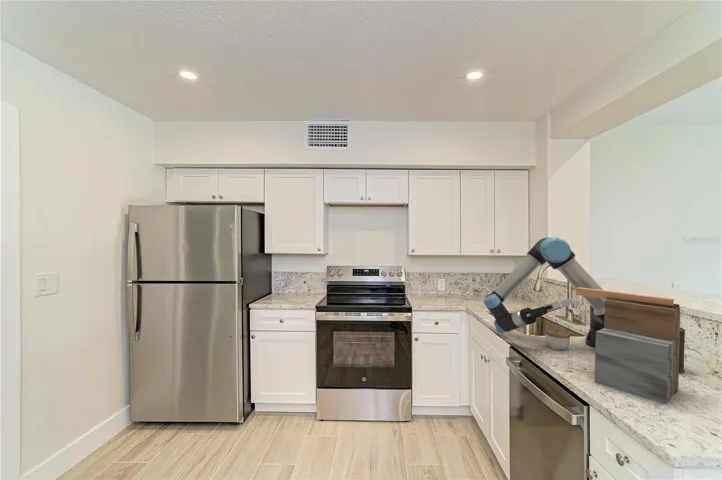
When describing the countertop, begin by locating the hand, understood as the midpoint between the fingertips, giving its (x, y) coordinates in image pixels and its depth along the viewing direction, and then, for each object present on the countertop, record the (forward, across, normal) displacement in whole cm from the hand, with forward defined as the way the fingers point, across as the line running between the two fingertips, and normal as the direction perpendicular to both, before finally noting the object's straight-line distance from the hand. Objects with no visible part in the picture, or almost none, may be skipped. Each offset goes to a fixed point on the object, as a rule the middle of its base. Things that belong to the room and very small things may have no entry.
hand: (567, 301), depth 142 cm
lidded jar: (-22, -16, -18) cm, 32 cm away
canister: (+11, -28, -37) cm, 47 cm away
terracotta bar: (+18, 0, -6) cm, 19 cm away
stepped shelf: (+9, +4, -35) cm, 37 cm away
